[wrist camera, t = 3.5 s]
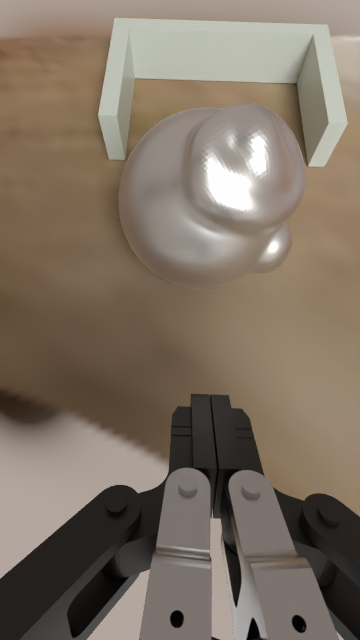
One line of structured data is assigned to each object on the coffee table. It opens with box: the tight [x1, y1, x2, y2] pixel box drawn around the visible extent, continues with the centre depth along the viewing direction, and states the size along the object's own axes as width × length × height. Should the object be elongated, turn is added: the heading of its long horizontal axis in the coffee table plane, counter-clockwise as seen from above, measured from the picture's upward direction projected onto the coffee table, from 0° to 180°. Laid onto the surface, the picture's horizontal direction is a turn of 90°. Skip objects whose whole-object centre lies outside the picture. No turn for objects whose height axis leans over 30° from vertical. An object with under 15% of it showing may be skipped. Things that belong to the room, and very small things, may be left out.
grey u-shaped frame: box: [98, 18, 348, 167], centre depth 24 cm, size 16×10×4 cm, turn 88°
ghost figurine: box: [118, 103, 306, 289], centre depth 16 cm, size 9×9×10 cm
